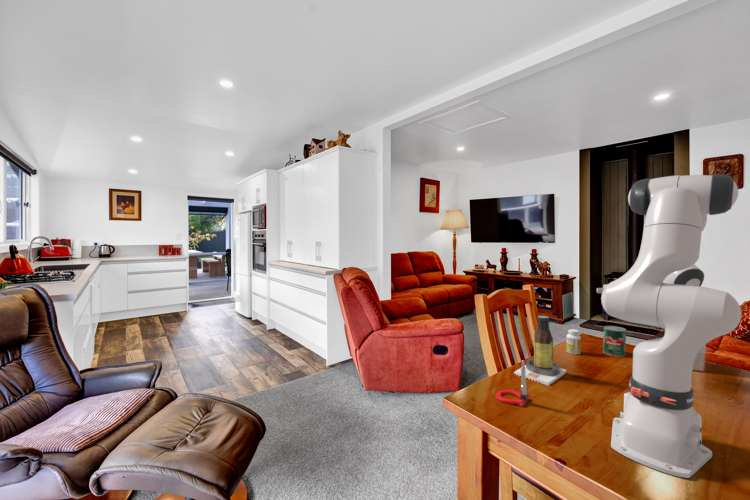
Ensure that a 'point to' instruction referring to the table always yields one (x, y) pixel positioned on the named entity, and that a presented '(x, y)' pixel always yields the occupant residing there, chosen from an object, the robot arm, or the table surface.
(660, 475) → the table surface
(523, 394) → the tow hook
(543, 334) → the sauce bottle
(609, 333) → the canned tomato
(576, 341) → the supplement bottle
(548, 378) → the socket board
